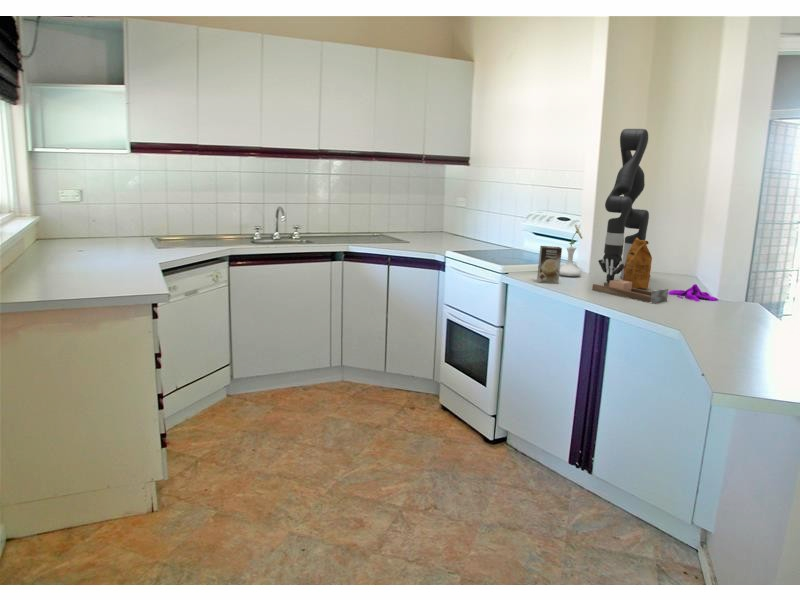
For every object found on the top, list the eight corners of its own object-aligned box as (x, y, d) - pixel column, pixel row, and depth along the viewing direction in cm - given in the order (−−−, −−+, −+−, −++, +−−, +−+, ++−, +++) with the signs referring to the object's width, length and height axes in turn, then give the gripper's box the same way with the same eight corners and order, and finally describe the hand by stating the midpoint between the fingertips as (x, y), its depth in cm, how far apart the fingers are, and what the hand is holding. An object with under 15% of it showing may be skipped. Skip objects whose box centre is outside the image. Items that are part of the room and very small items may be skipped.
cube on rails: (605, 287, 287) (606, 276, 286) (666, 301, 264) (668, 289, 263) (592, 289, 281) (593, 278, 280) (653, 303, 259) (655, 291, 257)
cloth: (661, 292, 285) (662, 278, 284) (702, 293, 285) (704, 280, 284) (682, 303, 263) (684, 289, 262) (728, 305, 263) (730, 290, 262)
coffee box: (538, 282, 294) (541, 247, 290) (536, 279, 300) (539, 245, 296) (558, 283, 293) (562, 248, 289) (556, 281, 299) (560, 246, 296)
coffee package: (640, 285, 296) (646, 237, 292) (650, 290, 284) (656, 241, 279) (619, 284, 296) (624, 236, 292) (628, 290, 284) (634, 240, 279)
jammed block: (616, 290, 281) (617, 279, 279) (630, 293, 275) (632, 282, 274) (608, 292, 277) (609, 280, 276) (622, 295, 272) (623, 283, 270)
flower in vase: (576, 278, 306) (581, 226, 301) (553, 275, 312) (557, 223, 307) (584, 275, 317) (590, 224, 312) (562, 272, 323) (567, 222, 318)
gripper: (633, 244, 273) (628, 285, 276) (606, 240, 283) (602, 279, 287) (622, 245, 268) (617, 286, 272) (595, 241, 278) (591, 281, 282)
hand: (609, 283), depth 279 cm, fingers closed
